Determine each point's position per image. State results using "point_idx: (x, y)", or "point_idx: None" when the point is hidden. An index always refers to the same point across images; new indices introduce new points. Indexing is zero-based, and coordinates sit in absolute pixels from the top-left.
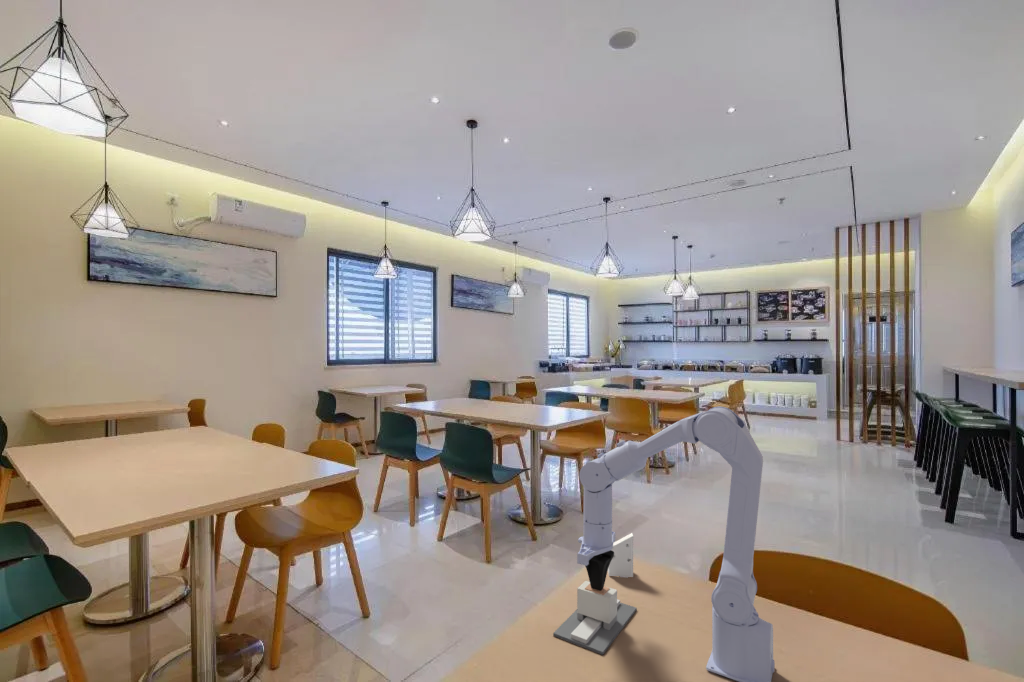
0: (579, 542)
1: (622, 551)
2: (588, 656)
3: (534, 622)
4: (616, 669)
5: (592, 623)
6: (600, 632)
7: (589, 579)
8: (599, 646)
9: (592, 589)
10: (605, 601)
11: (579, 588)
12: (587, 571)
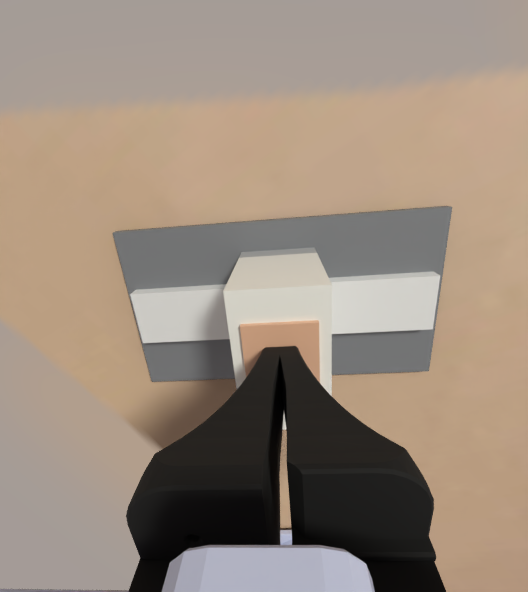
0: (170, 580)
1: None
2: (123, 353)
3: (125, 122)
4: (135, 415)
5: None
6: (223, 343)
7: (252, 368)
8: (164, 366)
9: (253, 358)
10: None
11: (229, 299)
12: (230, 397)
